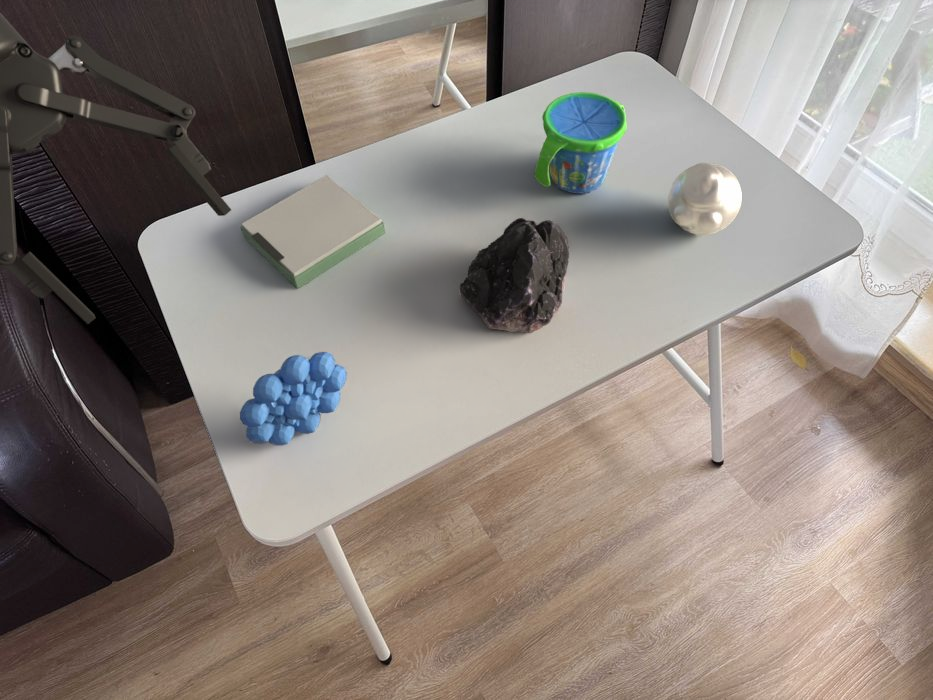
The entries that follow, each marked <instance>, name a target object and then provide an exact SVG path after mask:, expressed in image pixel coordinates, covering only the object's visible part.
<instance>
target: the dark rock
mask: <svg viewBox="0 0 933 700" xmlns="http://www.w3.org/2000/svg"><path fill="white" fill-rule="evenodd" d="M569 259H570V242H569V238H568V235H567V234H565V231H564V229H563V228H562V227H561V225H559V224H558V223H557V222H555V221H553V220H551V219H547V220H543V221H542V222H541V221H540V222H539V223H538V224H537V223H536V221H535V220H529V219H528V220H527V219H525V218H524V217H518V218H516V219H515V220H513V221H512V222H511V223H510V224H509V225H508V226H507V227H505V228H504V231H503V233H502V234H501V235H500V236H499V237H497V238H496V239H495V240H494V241H492V242H490V243H489V244H488V246H487V247H485V248H481V250H478V252H477V254H476V256H475V257H474V259H472V260H471V262H470V264H469V265H468V269H467V274H466V275H467V276H466V277H464V278H465V279H464V280H463V281H462V282H461V283H460V286H459V294H460V295H461V296H462V297H463V298H464V300H465V301H466V302H467V303H468V304H469V305H470V307H471V308H472V309H473V311H475V312H476V313H477V314H478V315H480V316H481V318H482V321H483V322H484V323H485V325H486V327H487V328H488V329H493V330H499V331H506V332H510V333H517V332H523V333H529V334H532V333H534V332H536V331H538V330H541V328H543V327H544V326H547V325H548V324H550V323H551V321H552V319H553V317H554V316H555V315H556V314H557V313H558V311H559V308H561V307H562V304H563V294H564V293H565V287H566V278H567V271H568V265H569Z"/></svg>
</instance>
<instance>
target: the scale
mask: <svg viewBox="0 0 933 700" xmlns="http://www.w3.org/2000/svg"><path fill="white" fill-rule="evenodd" d="M240 230H241V233H242V235H243V237H244V238H245V239H246V240H247V241H248V242H249V243H250V244H251V245H252V246H253V247H254V248H255V249H256V250H257V251H258V252H259V253H260V254H261V255H262V256H263V257H265V259H266V260H268V261H269V262H270V264H271V265H272V266H273V267H275V268H276V269H277V270H278V271H279V272H280V273H281V274H282V275H283V276H284V277H285V278H286V279H287V280H288V281H289V282H290V283H291V284H292V285H293V286H294V287H295V288H297V289H300V288H302V287H303V286H305V285H306V284H308V283H309V282H311V281H312V280H314V279H315V278H318V277H319V276H320V275H322V274H324V273H325V272H326V271H328V270H330V269H331V268H333V267H335V266H336V265H337V264H339V263H341V262H342V261H344V260H346V259H348V257H351V256H352V255H353V254H356V252H358V251H360V250H361V249H363V248H365V247H367V245H370V244H371V243H372V242H374V241H375V240H377V239H378V238H381V236H384V235H385V234H386V227H385V223H384V222H383V221H382V219H381V218H380V217H379V216H377V215H376V214H375V213H374V212H372V211H371V210H370V209H369V208H367V207H366V206H365V205H364V204H363V203H362V202H360V201H359V200H358V199H357V198H355V197H354V196H353V195H352V194H350V193H349V192H348V191H347V190H345V189H344V188H343V187H342V186H341V185H340V184H338V183H337V182H336V181H335V180H333V179H332V178H331V177H330V176H329V175H327V174H326V175H324V176H322V177H321V178H319V179H317V180H315V181H313V182H312V183H310V184H308V185H307V186H305V187H303V188H302V189H299V190H298V191H295V192H294V193H292V194H291V195H289V196H287V197H286V198H284V199H282V200H281V201H279V202H276V203H275V204H273V205H271V206H270V207H268V208H266V209H265V210H263V211H261V212H259V213H258V214H256V215H254V216H253V217H250V218H249V219H248V220H247V219H246V220H245V221H244V222H242V223H241V226H240Z"/></svg>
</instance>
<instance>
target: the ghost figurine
mask: <svg viewBox="0 0 933 700" xmlns="http://www.w3.org/2000/svg"><path fill="white" fill-rule="evenodd" d="M742 199H743V196H742V188H741V185H740V182H739V180H738V178H737V177H736V176H735V174H733V172H732V171H730V170H729V169H727V167H724V166H722V165H720V164H716V163H711V162H698V163H696V164H694V165H692V166H689V167H688V168H686V169H685V170H683V171H682V172H681V173H679V174H678V175H677V177H675V179H674V181H673V182H672V184H671V186H670V188H669V191H668V196H667V206H668V211H669V214H670V217H671V218H672V220H673V222H674V223H675V224H677V225H678V226H679V227H680V228H681V229H682V230H684V231H685V232H687V233H690V234H693V235H697V236H698V235H700V236H706V235H707V236H708V235H712V234H716V233H717V232H721V231H722V230H724V229H725V228H727V227H728V226H729V225H730V224H731V223H732V222H733V221H734V220H735V218H736V217H737V216H738V213H739V212H740V209H741V206H742V202H743V201H742Z"/></svg>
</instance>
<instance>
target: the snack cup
mask: <svg viewBox="0 0 933 700" xmlns="http://www.w3.org/2000/svg"><path fill="white" fill-rule="evenodd" d="M541 118H542V119H541V120H542V122H543V123H542V125H543V130H544V133H545V135H546V138H545V139H544V142H543V143H542V147H541V149H540V152H539V156H538V158H537V163H536V166H535V169H534V177H535V179H536V181H537V182H538V183H539V184H541V185H543V186H544V187H547V188H548V187H550V186H551V179H552V181H553V183H554V184H555V185H556V186H557V188H558V189H559V190H561V191H566V192H569V193H571V194H572V193H573V194H584V195H585V194H590V193H591V192H593V191H595V190H597V189H598V188H599V187H601V186H602V184H603V183H604V182H605V180H606V178H607V174H608V172H609V170H610V167H611V164H612V161H613V159H614V155H615V153H616V150H617V147H618V145H619V141H620V140H621V139H622V137H623V136H624V134H625V133H626V131H627V128H628V124H627V115H626V110H625V107H624V105H623V104H621V102H619V101H617V100H614V99H613V98H610V97H608V96H605V95H603V94H599V93H596V92H587V91H586V92H585V91H581V92H580V91H579V92H572V93H571V92H570V93H568V94H564V95H560V96H559V97H556V98H555V99H554V100H552V101H551V102H550V103H549V104H548V105H547V106H546V107H545V110H544V111H543V114H542V117H541ZM550 177H551V179H550Z"/></svg>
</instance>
